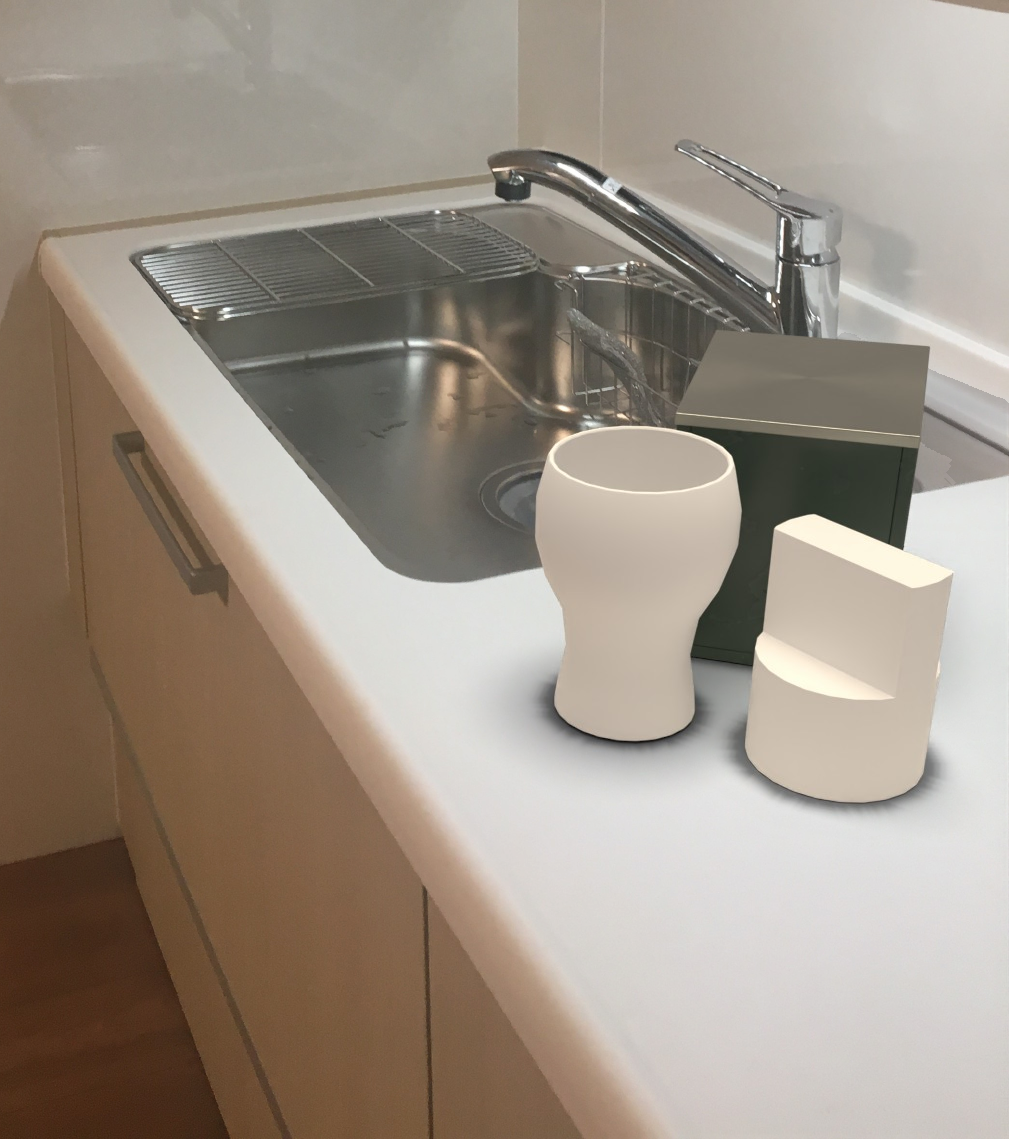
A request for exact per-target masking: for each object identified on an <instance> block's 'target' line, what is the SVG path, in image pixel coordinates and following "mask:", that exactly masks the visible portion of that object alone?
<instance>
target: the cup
mask: <svg viewBox="0 0 1009 1139" xmlns="http://www.w3.org/2000/svg"><path fill="white" fill-rule="evenodd" d="M535 496H536V497H535V498H536V499H535V520H534V521H535V522H534V526H535V527H534V535H535V536H534V542H535V544H536V548H537V552H538V555H539V560H540V562H541V566H542V570H543V574H544V577H545V578H546V581H547V582H548V584H549V586H550V589H551V590H552V592H553V593H554V595H555V598H556V600H557V602H558V603H559V605H560V607H561V610H562V621H563V629H564V639H565V646H564V650H563V654H562V658H561V662H560V666H559V670H558V674H557V680H556V686H555V691H554V708H555V709H556V711H557V713H558V715H559V716H560V717H561V719H563V720H564V721H565V722H566V723H567V724H569V725H571V726H572V727H575V728H576V729H578V730H580V731H582V732H584V733H587V734H590V735H593V736H596V737H599V738H605V739H610V740H615V741H627V742H640V741H651V740H657V739H661V738H664V737H668V736H672V735H674V734H676V733H677V732H679V731H682V730H683V729H685V728H686V727H687V726H688V725H689V724H690V723H691V722H692V720H693V718H694V716H695V712H696V704H695V687H694V686H695V685H694V676H693V668H692V667H693V666H692V660H691V659H692V658H691V656H690V653H691V649H692V645H693V641H694V636H695V632H696V628H697V624H698V620H699V618H700V616H701V615H702V613H703V612H704V611H705V609H706V608H707V607H708V605H709V604H710V602H711V601H712V600H713V598H714V597H715V595H716V594H717V593H718V591H719V589H720V587H721V585H722V582H723V580H724V578H725V575H726V573H727V571H728V568H729V566H730V564H731V561H732V559H733V557H734V554H735V552H736V549H737V547H738V541H739V532H740V522H741V513H742V508H741V502H740V496H739V489H738V483H737V476H736V470H735V465H734V462H733V458H732V456H731V455H730V454H729V453H728V452H727V451H726V450H725V449H724V448H723V447H722V446H720V445H718V444H716V443H715V442H713V441H711V440H709V439H706V438H703V437H700V436H698V435H695V434H692V433H688V432H683V431H678V430H676V429H672V428H666V427H657V426H649V425H619V426H617V425H616V426H606V427H604V426H603V427H598V428H593V429H588V430H582V431H580V432H576V433H573V434H571V435H567V436H565V437H564V438H562V439H561V440H559V441H558V442H555V444H554V445H553V446H552V447H551V449H550V451H549V452H548V453H547V456H546V460H545V464H544V467H543V470H542V474H541V476H540V481H539V484H538V488H537V491H536V494H535Z"/></svg>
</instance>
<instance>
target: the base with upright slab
mask: <svg viewBox="0 0 1009 1139" xmlns="http://www.w3.org/2000/svg"><path fill="white" fill-rule="evenodd" d="M953 578H954V571H953V570H952V569H949V568H946V567H944V566H942V565H939V564H937V563H934V562H932V561H929V560H927V559H925V558H922V557H919V556H917V555H915V554H912V553H911V552H907V551H905V550H904V549H903V550H900V549H898V548H895V547H893V546H891V545H888V544H886V543H883V542H881V541H879V540H876V539H874V538H871V537H869V536H866V535H864V534H862V533H859V532H857V531H854V530H852V529H849V528H847V527H845V526H842V525H840V524H837V523H835V522H832V521H830V520H828V519H825V518H823V517H820V516H818V515H815V514H812V515H806V516H802V517H798V518H794V519H790V520H788V521H786V522H784V523H782V524H780V525H778V526H776V527H775V528H774V535H773V544H772V553H771V562H770V571H769V580H768V590H767V599H766V608H765V617H764V626H763V632H762V633H761V634H760V635H759V637H758V638H757V642H756V647H755V654H754V664H753V665H752V672H751V673H752V675H751V684H750V693H749V694H750V695H749V702H748V712H747V720H746V730H745V740H744V741H745V742H744V749H745V753H746V755H747V759H748V760H749V761H750V763H751V764H752V765H753V766H754V767H755V769H756V770H757V771H759V772H760V773H761V774H762V775H764V776H765V777H766V778H768V779H769V780H771V781H772V782H773V783H775V784H777V785H779V786H781V787H784V788H785V789H788V790H789V791H792V792H795V793H798V794H802V795H805V796H808V797H810V798H815V799H820V800H825V801H833V802H837V803H871V802H879V801H885V800H886V801H887V800H889V799H892V798H895V797H898V796H901V795H904V794H905V793H907V792H908V791H909V790H911V789H912V788H914V787H915V786H917V785H918V783H919V781H920V780H921V779H922V777H923V775H924V771H925V765H926V759H927V754H928V746H929V740H930V737H931V736H930V735H931V730H932V729H931V728H932V723H933V717H934V711H935V705H936V700H937V693H938V688H939V682H940V675H941V661H940V655H941V650H942V643H943V638H944V631H945V625H946V620H947V614H948V609H949V603H950V602H949V601H950V596H951V590H952V583H953Z"/></svg>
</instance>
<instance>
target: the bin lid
mask: <svg viewBox="0 0 1009 1139" xmlns="http://www.w3.org/2000/svg"><path fill="white" fill-rule="evenodd" d="M930 352H931V346H930V345H918V344H909V343H908V344H905V343H892V342H882V341H881V342H880V341H868V340H867V341H866V340H854V339H842V338H831V337H830V338H829V337H828V338H827V337H816V336H815V337H814V336H802V335H790V334H789V335H788V334H777V333H776V334H775V333H764V332H749V331H738V330H723V329H716V330H715V331H714V334H713V336H712V338H711V340H710V342H709V344H708V346H707V348H706V350H705V352H704V354H703V356H702V358H701V360H700V363H699V364H698V367H697V369H696V370H695V372H694V374H693V377H692V378H691V381H690V383H689V385H688V387H687V389H686V390H685V393H684V395H683V396H682V399H681V401H680V403H679V405H678V407H677V410H676V411H675V413H674V425H676V426H677V425H686V426H696V427H706V428H716V429H726V430H736V431H746V432H757V433H767V434H777V435H787V436H797V437H807V438H817V439H827V440H837V441H847V442H858V443H868V444H878V445H888V446H898V447H908V448H919V449H920V447H921V446H920V445H921V439H922V430H923V423H924V422H923V420H924V410H925V402H926V391H927V382H928V373H929V372H928V371H929V362H930Z"/></svg>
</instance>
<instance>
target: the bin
mask: <svg viewBox="0 0 1009 1139" xmlns="http://www.w3.org/2000/svg"><path fill="white" fill-rule="evenodd" d="M675 430H678V431H683V432H688V433H692V434H695V435H698V436H700V437H703V438H706V439H709V440H711V441H713V442H715V443H716V444H718V445H720V446H722V447H723V448H724V449H725V450H726V451H727V452H728V453H729V454H730V455H731V456H732V458H733V462H734V465H735V470H736V476H737V483H738V489H739V496H740V502H741V508H742V513H741V522H740V532H739V541H738V547H737V549H736V552H735V554H734V557H733V559H732V561H731V564H730V566H729V568H728V571H727V573H726V575H725V578H724V580H723V582H722V585H721V587H720V589H719V591H718V593H717V594H716V595H715V597H714V598H713V600H712V601H711V602H710V604H709V605H708V607H707V608H706V609H705V611H704V612H703V613H702V615H701V616H700V618H699V620H698V624H697V628H696V632H695V636H694V641H693V645H692V649H691V653H690V657H694V658H701V659H706V660H707V659H708V660H715V661H721V662H727V663H733V664H741V665H747V666H753V664H754V654H755V647H756V642H757V638H758V637H759V635H760V634H761V633H762V632H763V626H764V617H765V608H766V599H767V590H768V580H769V571H770V562H771V553H772V544H773V535H774V528H775V527H776V526H778V525H780V524H782V523H784V522H786V521H788V520H790V519H794V518H798V517H802V516H806V515H812V514H815V515H818V516H820V517H823V518H825V519H828V520H830V521H832V522H835V523H837V524H840V525H842V526H845V527H847V528H849V529H852V530H854V531H857V532H859V533H862V534H864V535H866V536H869V537H871V538H874V539H876V540H879V541H881V542H883V543H886V544H888V545H891V546H893V547H895V548H898V549H900V550H903V551H904V549H905V542H906V536H907V530H908V523H909V516H910V509H911V504H912V503H911V502H912V497H913V489H914V484H915V476H916V470H917V463H918V457H919V450H920V447H919V448H908V447H898V446H888V445H878V444H868V443H858V442H847V441H837V440H827V439H817V438H807V437H797V436H787V435H777V434H767V433H757V432H746V431H736V430H726V429H716V428H706V427H696V426H686V425H676V429H675Z"/></svg>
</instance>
